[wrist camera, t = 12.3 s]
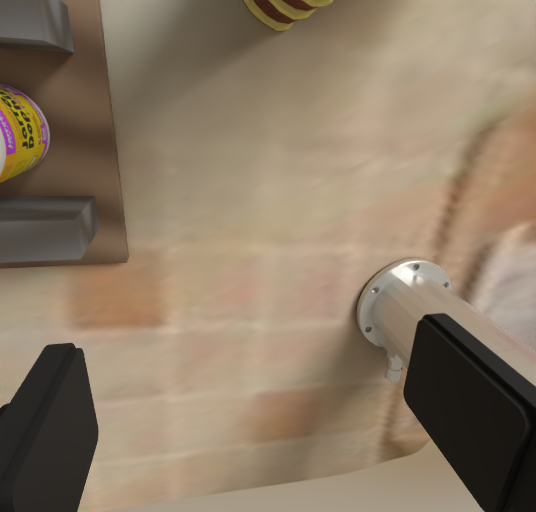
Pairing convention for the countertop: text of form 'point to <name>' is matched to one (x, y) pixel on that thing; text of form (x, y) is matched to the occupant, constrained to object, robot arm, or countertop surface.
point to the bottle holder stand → (62, 139)
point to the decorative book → (283, 11)
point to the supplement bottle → (20, 133)
